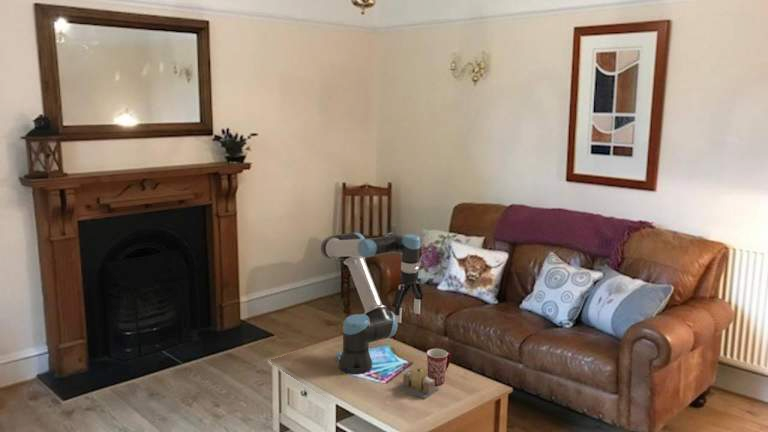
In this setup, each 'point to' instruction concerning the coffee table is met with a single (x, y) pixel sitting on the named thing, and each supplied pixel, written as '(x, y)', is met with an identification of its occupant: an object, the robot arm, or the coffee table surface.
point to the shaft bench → (428, 390)
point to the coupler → (418, 378)
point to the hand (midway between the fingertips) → (407, 317)
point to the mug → (438, 364)
